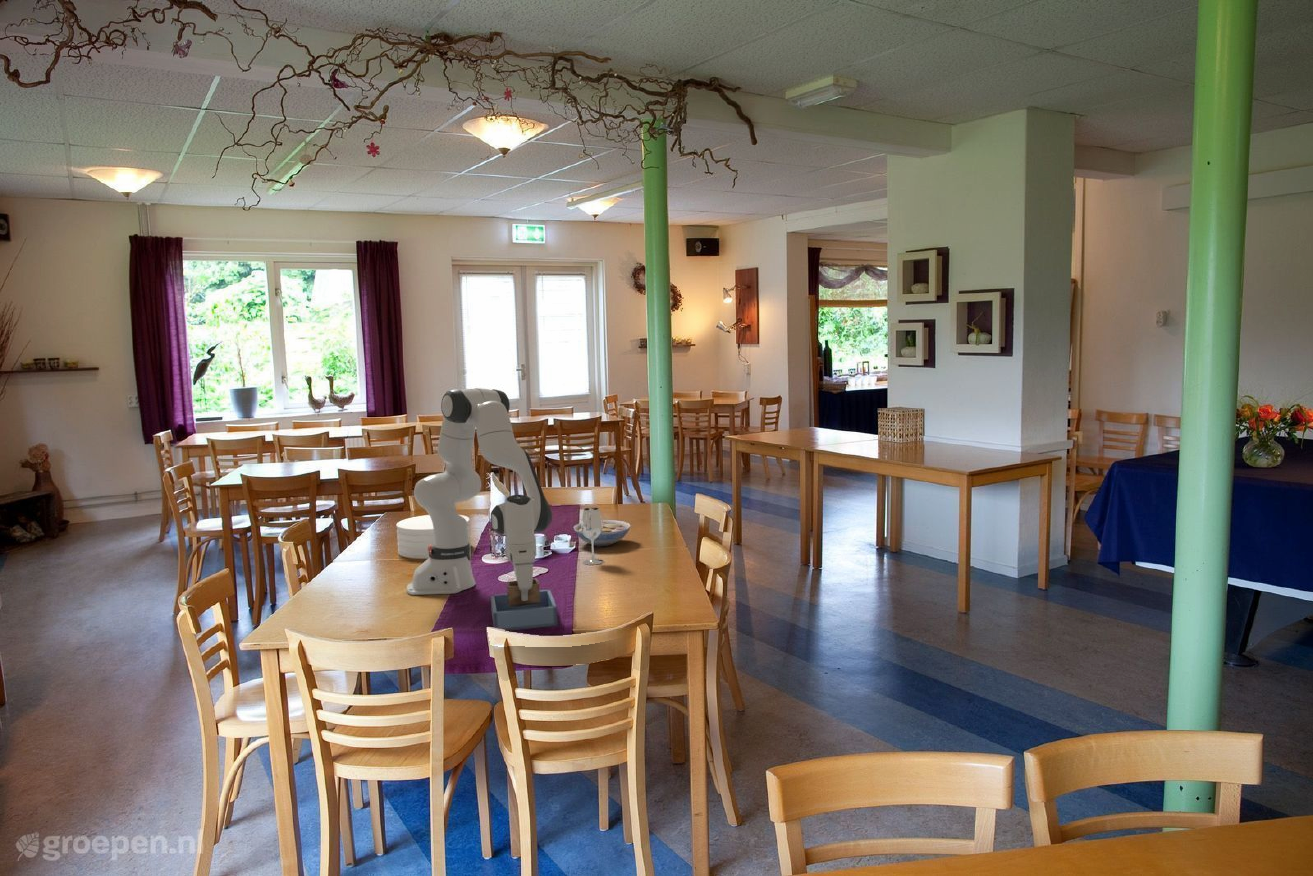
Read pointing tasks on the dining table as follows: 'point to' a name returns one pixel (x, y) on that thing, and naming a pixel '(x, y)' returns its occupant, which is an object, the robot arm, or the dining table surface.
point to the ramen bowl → (607, 532)
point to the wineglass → (592, 530)
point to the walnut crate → (515, 594)
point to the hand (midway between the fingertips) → (523, 596)
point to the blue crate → (524, 613)
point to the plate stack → (418, 536)
